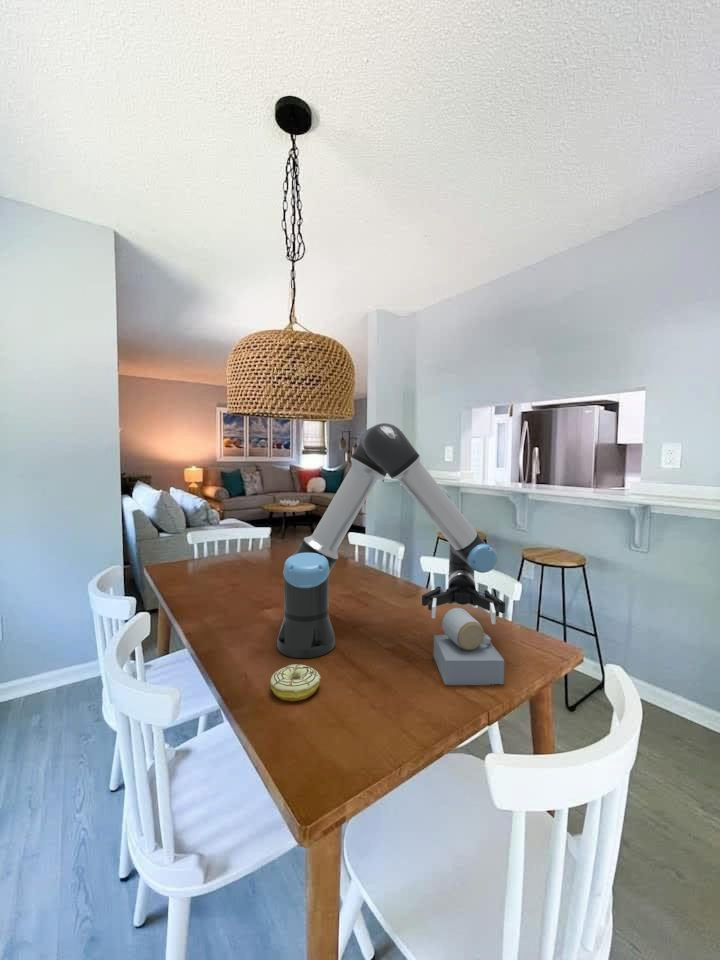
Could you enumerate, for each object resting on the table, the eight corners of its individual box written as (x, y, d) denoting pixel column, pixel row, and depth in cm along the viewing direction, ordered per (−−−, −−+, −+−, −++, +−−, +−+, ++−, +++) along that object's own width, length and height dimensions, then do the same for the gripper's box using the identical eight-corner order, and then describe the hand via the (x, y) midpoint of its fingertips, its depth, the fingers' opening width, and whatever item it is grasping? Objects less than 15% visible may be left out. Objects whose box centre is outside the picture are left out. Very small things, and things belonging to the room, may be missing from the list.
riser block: (445, 686, 91) (445, 660, 91) (433, 658, 104) (434, 634, 104) (503, 686, 91) (504, 660, 91) (484, 658, 104) (485, 634, 104)
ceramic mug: (457, 654, 94) (459, 621, 93) (440, 638, 101) (441, 608, 101) (498, 649, 97) (499, 617, 96) (478, 634, 104) (479, 604, 104)
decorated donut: (323, 677, 94) (323, 661, 94) (316, 705, 83) (316, 687, 83) (278, 675, 95) (278, 659, 94) (265, 703, 84) (265, 685, 84)
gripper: (508, 604, 114) (519, 637, 93) (417, 596, 120) (409, 625, 99) (508, 577, 114) (520, 604, 93) (417, 571, 119) (409, 595, 98)
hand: (463, 615), depth 96 cm, fingers open, 13 cm apart
